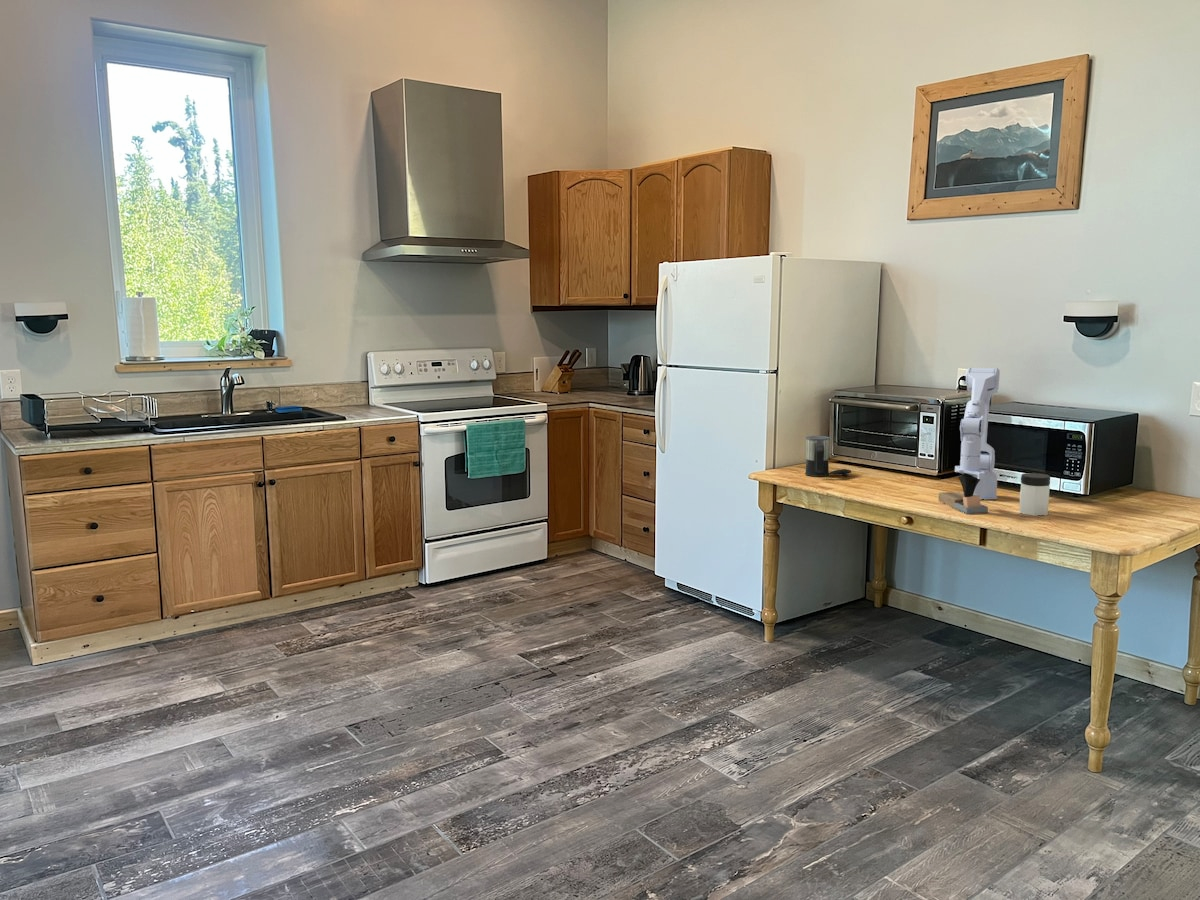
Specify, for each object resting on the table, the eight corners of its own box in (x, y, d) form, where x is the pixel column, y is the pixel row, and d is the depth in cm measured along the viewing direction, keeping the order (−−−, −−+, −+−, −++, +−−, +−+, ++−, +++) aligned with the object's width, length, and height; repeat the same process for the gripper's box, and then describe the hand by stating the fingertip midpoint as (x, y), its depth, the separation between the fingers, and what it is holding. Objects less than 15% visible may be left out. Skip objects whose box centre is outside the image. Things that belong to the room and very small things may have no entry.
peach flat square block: (975, 494, 275) (979, 495, 273) (976, 507, 275) (980, 508, 273) (962, 497, 274) (966, 497, 272) (964, 510, 275) (968, 511, 273)
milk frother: (800, 473, 341) (801, 436, 338) (838, 471, 343) (839, 434, 341) (816, 480, 327) (817, 441, 324) (855, 478, 330) (856, 439, 327)
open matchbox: (958, 500, 290) (958, 491, 289) (974, 507, 280) (975, 498, 279) (938, 501, 289) (938, 492, 289) (954, 508, 279) (954, 499, 278)
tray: (974, 507, 280) (975, 501, 279) (987, 513, 272) (988, 507, 272) (954, 508, 279) (954, 502, 279) (966, 514, 272) (966, 508, 271)
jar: (1018, 508, 277) (1020, 471, 275) (1047, 510, 274) (1049, 473, 272) (1019, 515, 269) (1021, 477, 267) (1048, 517, 266) (1051, 479, 264)
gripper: (946, 452, 279) (944, 494, 280) (970, 459, 264) (968, 502, 266) (967, 452, 279) (965, 493, 281) (992, 458, 265) (990, 502, 267)
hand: (968, 498), depth 274 cm, fingers closed, pressing on peach flat square block
